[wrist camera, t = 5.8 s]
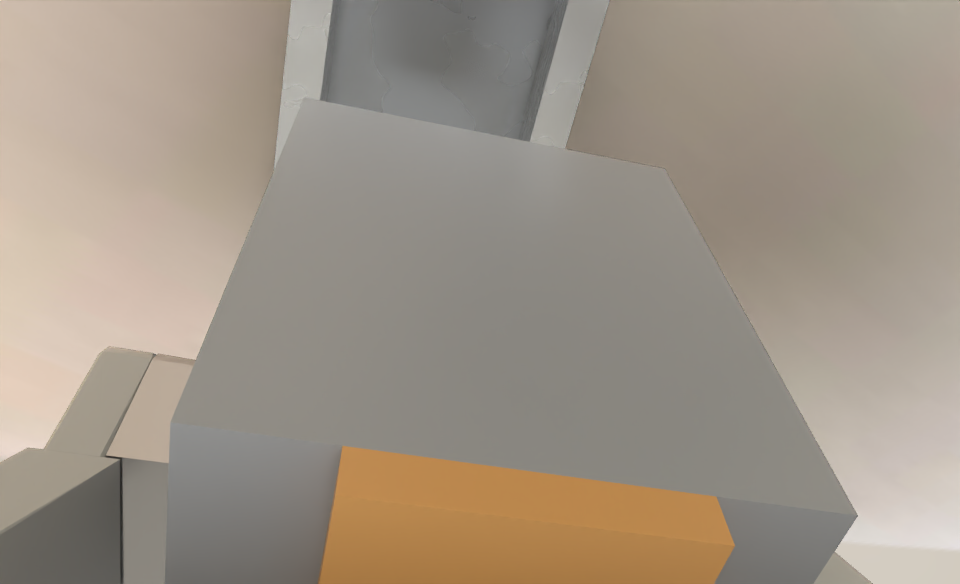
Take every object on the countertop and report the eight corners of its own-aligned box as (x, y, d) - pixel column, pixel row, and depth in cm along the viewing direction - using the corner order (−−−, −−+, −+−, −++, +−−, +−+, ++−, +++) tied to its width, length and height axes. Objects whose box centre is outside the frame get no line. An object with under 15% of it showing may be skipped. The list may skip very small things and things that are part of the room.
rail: (702, -379, 19) (737, -399, 17) (497, 326, 29) (501, 376, 27) (352, -486, 18) (336, -523, 15) (269, 286, 28) (251, 334, 26)
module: (664, 168, 10) (883, 564, 5) (540, 509, 13) (601, 964, 8) (304, 97, 10) (150, 471, 4) (261, 472, 13) (140, 943, 8)
